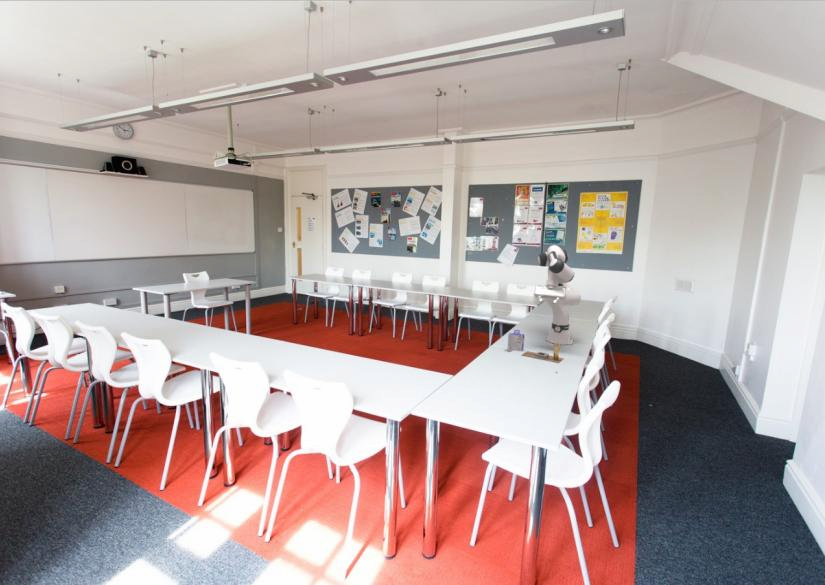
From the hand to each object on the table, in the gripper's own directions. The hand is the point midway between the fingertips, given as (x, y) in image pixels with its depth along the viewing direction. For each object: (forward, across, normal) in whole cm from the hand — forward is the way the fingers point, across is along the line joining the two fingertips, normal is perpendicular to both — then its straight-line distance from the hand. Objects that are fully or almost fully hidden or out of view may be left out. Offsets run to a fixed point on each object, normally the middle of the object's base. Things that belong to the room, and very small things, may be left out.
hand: (547, 302), depth 265 cm
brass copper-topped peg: (+34, +11, +12) cm, 38 cm away
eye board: (+35, +3, +14) cm, 37 cm away
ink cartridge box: (+30, -17, +19) cm, 39 cm away
